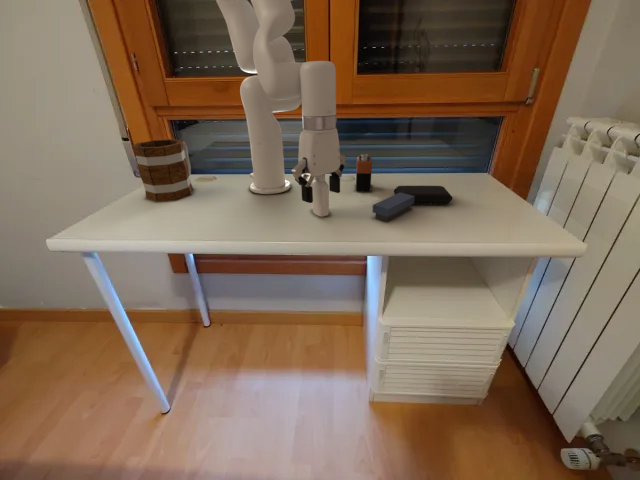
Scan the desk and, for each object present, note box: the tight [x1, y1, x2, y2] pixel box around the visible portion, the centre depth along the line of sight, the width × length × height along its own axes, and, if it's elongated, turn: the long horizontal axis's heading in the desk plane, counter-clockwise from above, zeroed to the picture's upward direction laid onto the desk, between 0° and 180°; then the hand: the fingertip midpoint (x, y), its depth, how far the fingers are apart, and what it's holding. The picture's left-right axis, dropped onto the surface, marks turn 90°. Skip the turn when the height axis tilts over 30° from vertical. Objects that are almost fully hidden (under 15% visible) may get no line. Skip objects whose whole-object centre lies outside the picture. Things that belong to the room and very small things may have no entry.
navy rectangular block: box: [372, 193, 415, 223], centre depth 80 cm, size 12×4×4 cm, turn 136°
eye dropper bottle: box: [311, 174, 330, 218], centre depth 79 cm, size 4×6×12 cm
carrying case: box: [393, 185, 454, 205], centre depth 89 cm, size 11×3×15 cm
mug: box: [131, 138, 194, 203], centre depth 96 cm, size 20×14×15 cm
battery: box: [355, 153, 373, 193], centre depth 96 cm, size 4×7×10 cm, turn 173°
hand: (321, 196), depth 79 cm, fingers open, 9 cm apart
